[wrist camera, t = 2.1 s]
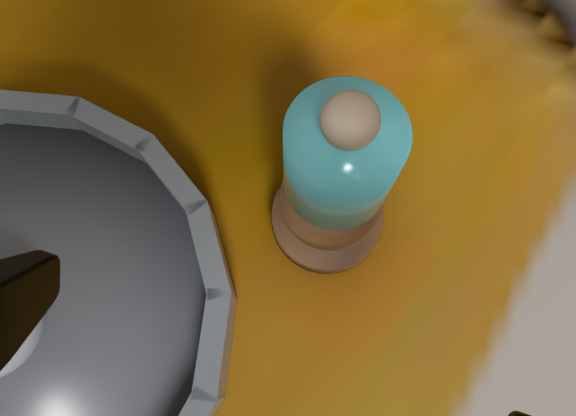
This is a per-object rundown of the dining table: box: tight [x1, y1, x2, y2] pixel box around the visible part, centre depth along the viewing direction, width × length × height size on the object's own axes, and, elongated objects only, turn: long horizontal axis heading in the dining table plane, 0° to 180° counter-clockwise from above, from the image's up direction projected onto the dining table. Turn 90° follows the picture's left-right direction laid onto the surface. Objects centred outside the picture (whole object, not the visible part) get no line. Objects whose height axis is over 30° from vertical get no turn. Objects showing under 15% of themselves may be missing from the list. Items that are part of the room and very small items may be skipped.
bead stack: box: [272, 76, 413, 274], centre depth 19 cm, size 5×5×11 cm
